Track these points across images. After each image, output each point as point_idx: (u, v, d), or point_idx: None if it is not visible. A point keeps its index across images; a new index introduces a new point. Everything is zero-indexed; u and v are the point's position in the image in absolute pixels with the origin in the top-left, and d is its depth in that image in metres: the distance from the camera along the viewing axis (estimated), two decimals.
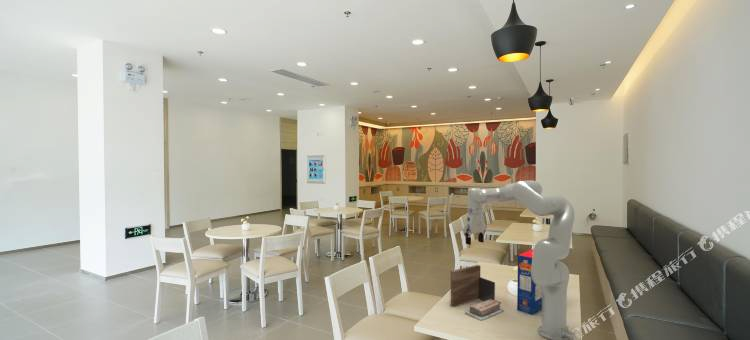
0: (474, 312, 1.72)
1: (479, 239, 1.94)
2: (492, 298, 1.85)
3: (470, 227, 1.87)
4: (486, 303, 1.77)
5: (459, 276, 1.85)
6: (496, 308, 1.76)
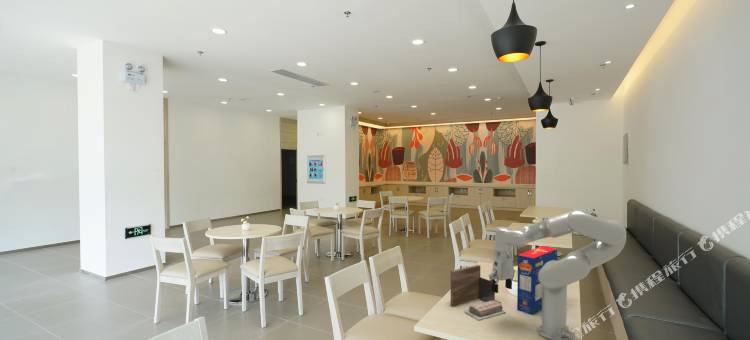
0: (473, 312, 1.72)
1: (506, 285, 1.70)
2: (492, 298, 1.85)
3: (498, 273, 1.63)
4: (487, 304, 1.76)
5: (459, 276, 1.85)
6: (497, 309, 1.75)
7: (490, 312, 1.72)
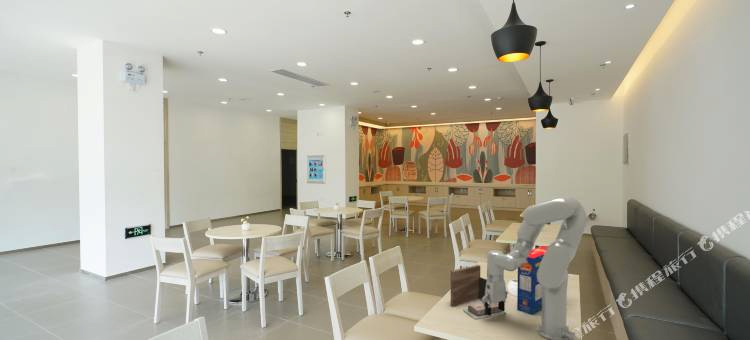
0: (471, 311, 1.74)
1: (499, 307, 1.74)
2: None
3: (490, 296, 1.66)
4: None
5: (459, 276, 1.85)
6: (497, 310, 1.74)
7: None
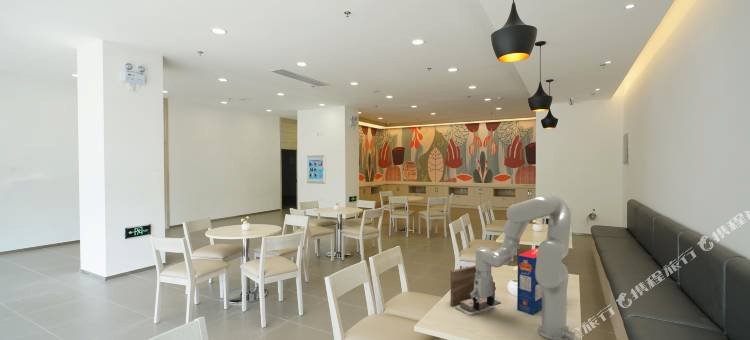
0: (464, 307, 1.78)
1: (488, 302, 1.80)
2: None
3: (478, 291, 1.72)
4: None
5: (459, 276, 1.85)
6: None
7: (480, 307, 1.78)
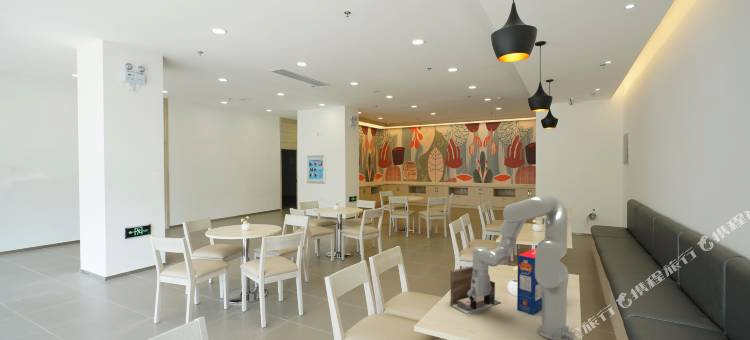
0: (461, 306, 1.79)
1: (485, 301, 1.81)
2: (492, 298, 1.85)
3: (475, 290, 1.74)
4: None
5: (459, 276, 1.85)
6: (483, 303, 1.83)
7: (477, 306, 1.80)
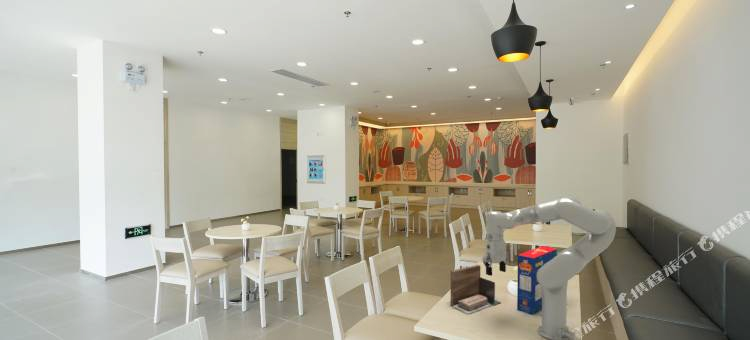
0: (462, 306, 1.79)
1: (500, 268, 1.73)
2: (492, 298, 1.85)
3: (491, 256, 1.66)
4: (474, 298, 1.84)
5: (459, 276, 1.85)
6: (484, 303, 1.83)
7: (478, 306, 1.79)
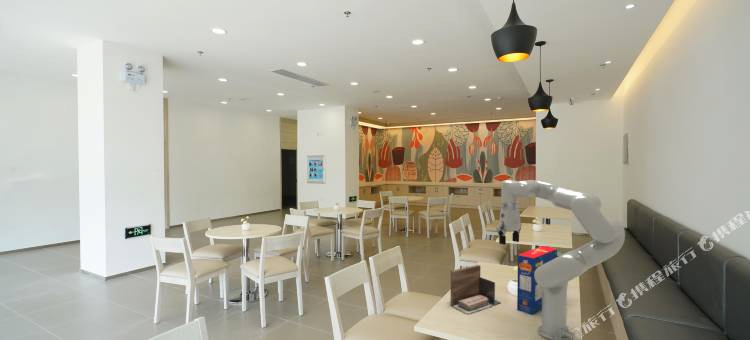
0: (462, 306, 1.79)
1: (513, 238, 1.71)
2: (492, 298, 1.85)
3: (505, 224, 1.64)
4: (475, 298, 1.83)
5: (459, 276, 1.85)
6: (484, 303, 1.82)
7: (478, 306, 1.79)
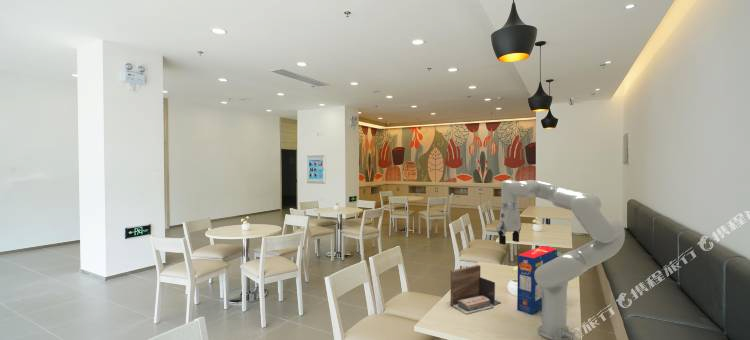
0: (461, 306, 1.79)
1: (513, 238, 1.71)
2: (492, 298, 1.85)
3: (505, 224, 1.64)
4: (475, 299, 1.83)
5: (459, 276, 1.85)
6: (485, 304, 1.81)
7: (478, 307, 1.79)
